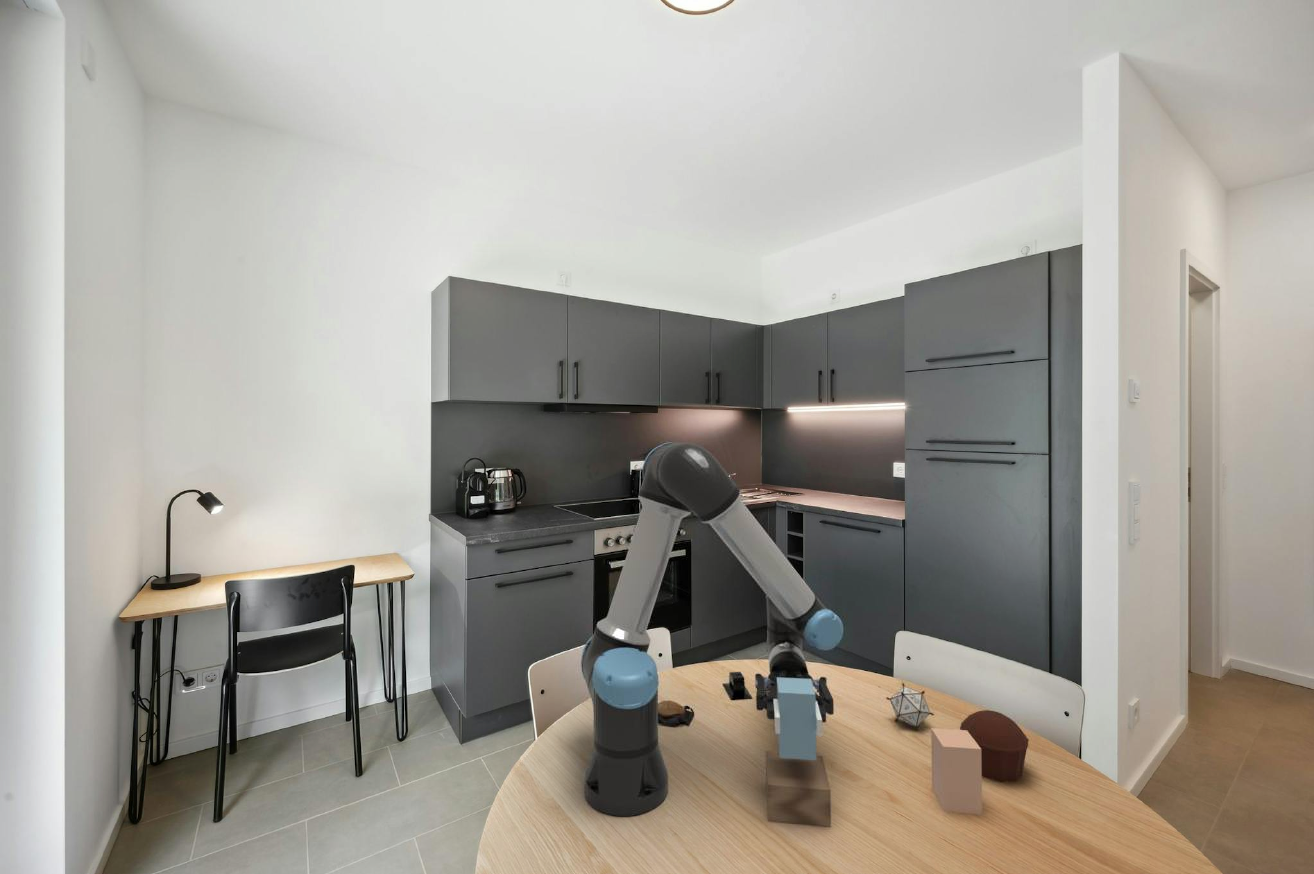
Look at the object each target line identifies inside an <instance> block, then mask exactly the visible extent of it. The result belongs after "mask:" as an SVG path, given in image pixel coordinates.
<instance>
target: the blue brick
mask: <svg viewBox="0 0 1314 874" xmlns="http://www.w3.org/2000/svg"><path fill="white" fill-rule="evenodd" d="M815 692H816V691H815V687H813V684H812V680H811V679H800V678H779V677H777V699H778V707H779V714H780V734H777V742H778V752H779V754H780V758H790V759H804V760H817V755H818V754H817V732H816V699H815Z"/></svg>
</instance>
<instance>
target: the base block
mask: <svg viewBox="0 0 1314 874" xmlns="http://www.w3.org/2000/svg"><path fill="white" fill-rule="evenodd" d="M765 788H766V789H765V790H766V805H767V807H766V809H767V821H768V822H777V823H788V824H796V825H798V824H800V825H809V826H819V827H830V828H831V827H832V823H831V822H832V818H831V817H832V814H831V813H832V811H831V810H832V809H831V807H832V806H831V802H832V801H831V800H832V799H831V796H832V795H831V786H830V782H829V778H828V774H827V770H826V765H825V761H824V758H823V755H822V754H821V755H820V754H817V760H804V759H790V758H780V754H779V751H769V750H766V751H765Z"/></svg>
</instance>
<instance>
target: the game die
mask: <svg viewBox="0 0 1314 874" xmlns="http://www.w3.org/2000/svg"><path fill="white" fill-rule="evenodd" d="M901 683H902V684H901V686H902V687H900V689H899V690H898V691H897V692H896V693H894V694H893V696H891V697H888V696H887V697H885V699H886V700H887V701H890V704H891V706H892V709H893V711H894V714H895V716H896V718H895V719H894V722H898V721H901V722H903V723H906V724H907V725H910V726H912V727H914V729H915V731H917V732H919V731H918V730H919V728H918V726H919V725H920V724H922V723H923V721H925V720H926V719H927V718H928V716H935V714H934V712H930V709H929V706H928V703H927V701H926V698H925V696H924V695H925V692H926V690H922V691H921V692H920V691H917V690H915V689H912V688H910V687H907V686H905V683H904V682H901Z"/></svg>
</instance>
